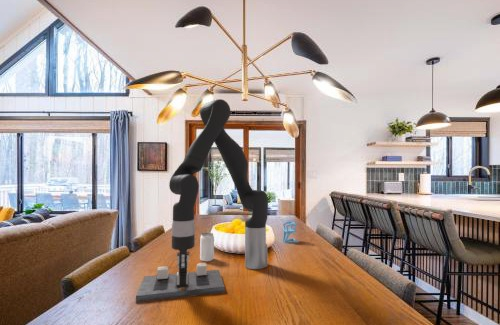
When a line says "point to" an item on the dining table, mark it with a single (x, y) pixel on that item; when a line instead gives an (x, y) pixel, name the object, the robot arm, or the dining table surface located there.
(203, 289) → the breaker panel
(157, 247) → the dining table surface
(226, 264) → the dining table surface
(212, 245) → the can
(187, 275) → the breaker
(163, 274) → the breaker
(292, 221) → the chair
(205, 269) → the breaker
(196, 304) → the dining table surface
